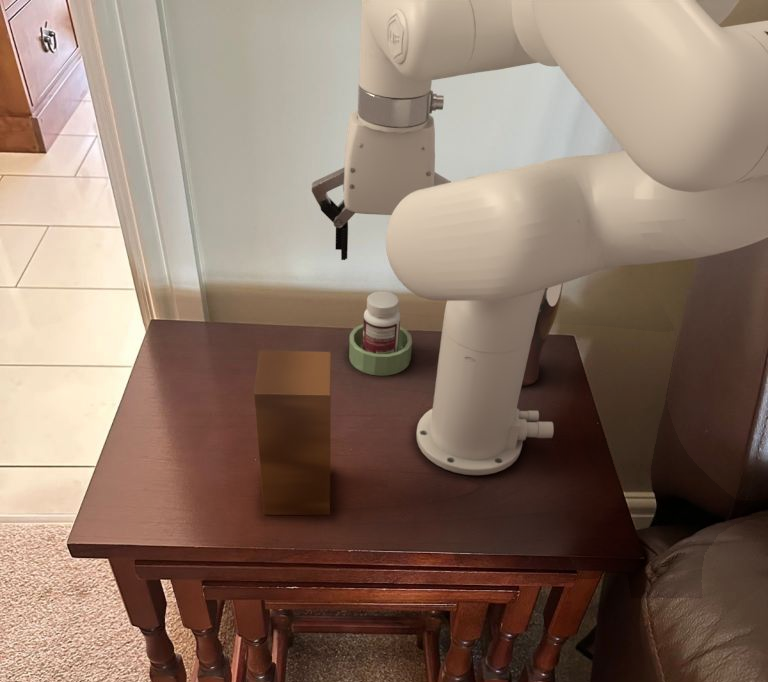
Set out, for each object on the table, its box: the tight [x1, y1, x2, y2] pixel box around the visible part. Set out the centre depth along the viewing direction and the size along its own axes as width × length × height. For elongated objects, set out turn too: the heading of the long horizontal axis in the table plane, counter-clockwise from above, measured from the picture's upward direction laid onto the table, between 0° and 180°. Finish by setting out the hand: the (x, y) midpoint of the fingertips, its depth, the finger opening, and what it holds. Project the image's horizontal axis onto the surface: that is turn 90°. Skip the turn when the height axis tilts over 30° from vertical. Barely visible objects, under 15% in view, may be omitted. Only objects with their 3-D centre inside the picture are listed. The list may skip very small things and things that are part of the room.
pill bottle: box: [362, 290, 402, 354], centre depth 101 cm, size 5×5×8 cm
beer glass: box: [521, 283, 564, 387], centre depth 98 cm, size 7×7×15 cm
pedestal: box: [253, 350, 332, 516], centre depth 80 cm, size 7×7×16 cm
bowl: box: [348, 323, 413, 377], centre depth 103 cm, size 8×8×3 cm
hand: (383, 256), depth 94 cm, fingers open, 9 cm apart
